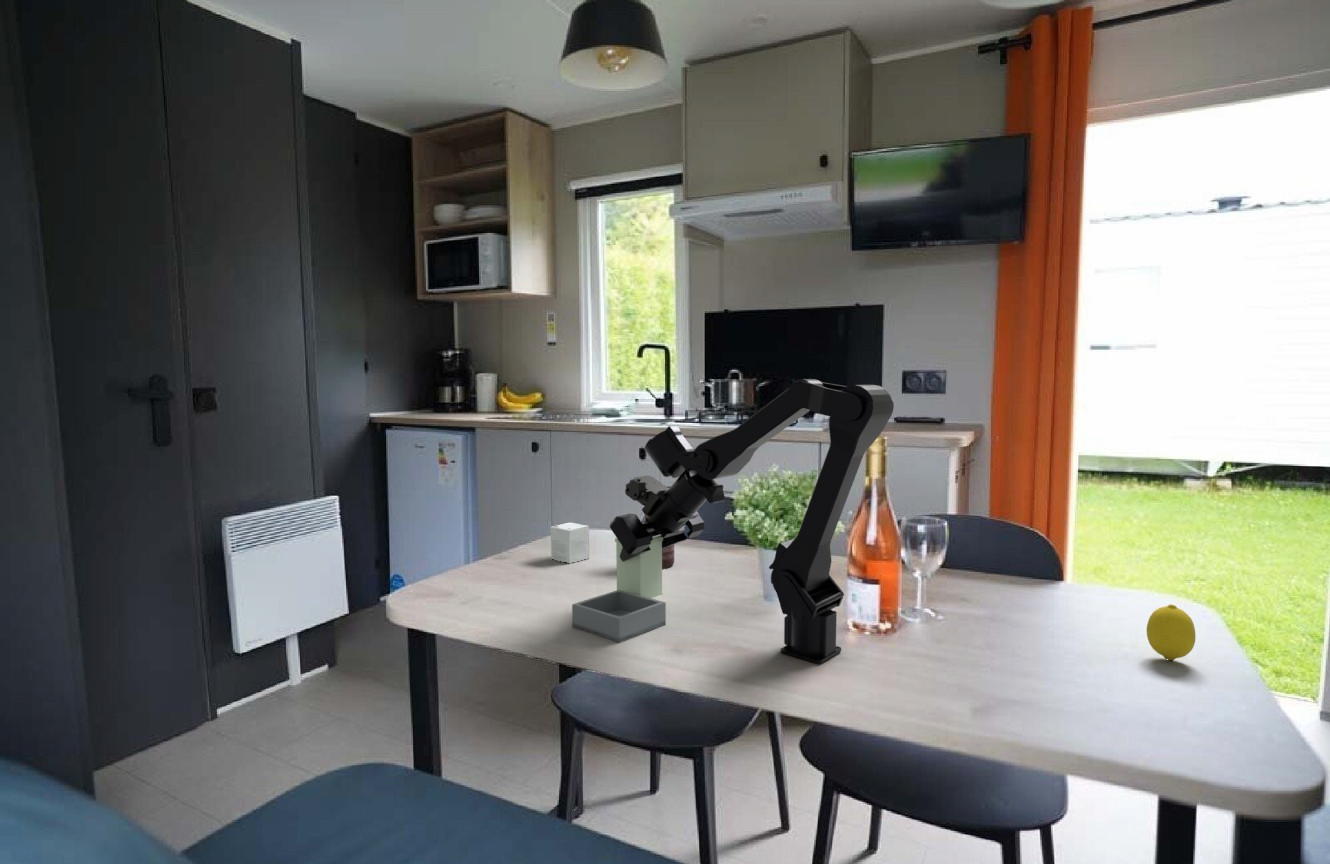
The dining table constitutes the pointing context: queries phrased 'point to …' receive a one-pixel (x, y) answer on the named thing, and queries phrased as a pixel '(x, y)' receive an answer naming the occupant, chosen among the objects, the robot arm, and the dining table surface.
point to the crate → (618, 615)
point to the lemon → (1171, 632)
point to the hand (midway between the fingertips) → (633, 555)
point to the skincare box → (570, 542)
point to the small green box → (641, 571)
